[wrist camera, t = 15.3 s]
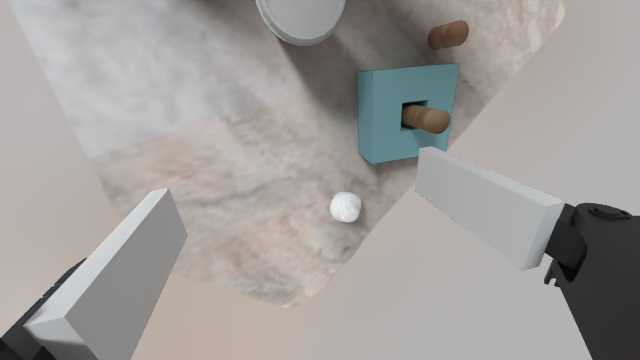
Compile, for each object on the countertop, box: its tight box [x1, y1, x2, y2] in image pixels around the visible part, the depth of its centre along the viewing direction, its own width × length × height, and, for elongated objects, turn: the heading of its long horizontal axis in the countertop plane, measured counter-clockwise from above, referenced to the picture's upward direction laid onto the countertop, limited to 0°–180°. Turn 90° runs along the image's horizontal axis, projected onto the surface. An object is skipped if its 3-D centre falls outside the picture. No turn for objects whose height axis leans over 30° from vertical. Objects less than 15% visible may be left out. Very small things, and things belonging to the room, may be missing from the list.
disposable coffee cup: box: [255, 0, 346, 46], centre depth 28 cm, size 10×10×12 cm
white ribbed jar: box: [330, 192, 362, 223], centre depth 44 cm, size 6×6×7 cm
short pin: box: [428, 20, 469, 49], centre depth 37 cm, size 3×3×5 cm
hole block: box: [358, 63, 460, 164], centre depth 40 cm, size 14×14×6 cm
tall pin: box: [401, 103, 450, 134], centre depth 37 cm, size 3×3×12 cm
